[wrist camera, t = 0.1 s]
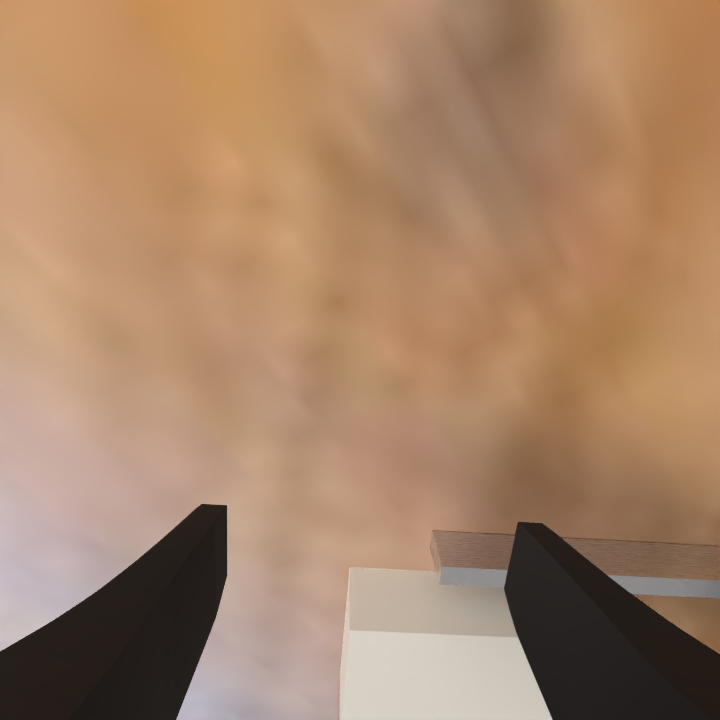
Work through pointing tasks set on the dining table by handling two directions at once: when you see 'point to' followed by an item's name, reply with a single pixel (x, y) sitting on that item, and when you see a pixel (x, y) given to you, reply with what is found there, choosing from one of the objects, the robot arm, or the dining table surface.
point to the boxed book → (432, 652)
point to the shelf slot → (615, 558)
